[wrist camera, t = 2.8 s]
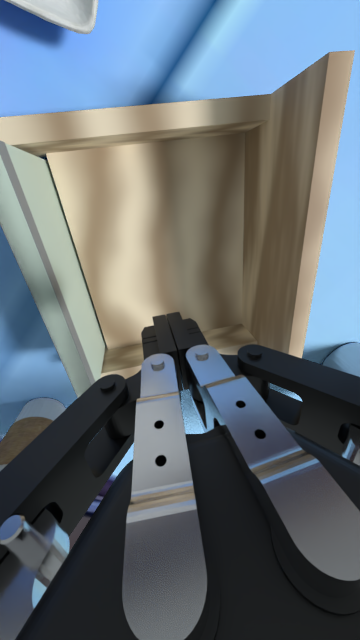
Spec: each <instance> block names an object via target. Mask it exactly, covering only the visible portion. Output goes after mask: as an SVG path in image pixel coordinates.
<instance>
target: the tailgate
mask: <svg viewBox="0 0 360 640" xmlns="http://www.w3.org/2000/svg"><path fill="white" fill-rule="evenodd" d="M0 225H1V227H2V229H3V232H4V234H5V236H6V238H7V241H8V243H9V245H10V247H11V249H12V252H13V254H14V256H15V258H16V261H17V263H18V265H19V267H20V270H21V272H22V274H23V276H24V279H25V281H26V283H27V285H28V288H29V290H30V292H31V294H32V296H33V299H34V301H35V303H36V305H37V308H38V310H39V312H40V314H41V317H42V319H43V321H44V323H45V326H46V328H47V330H48V332H49V334H50V337H51V339H52V341H53V343H54V346H55V348H56V350H57V352H58V355H59V357H60V359H61V361H62V364H63V366H64V368H65V370H66V372H67V375H68V377H69V379H70V381H71V384H72V386H73V388H74V390H75V393H76V395H77V397H78V398H79V397H80V396H81V395H82V394H83V393H84V392H85V391H86V390H87V389H88V388H89V387H90V386H91V385H92V384H93V383H94V382H96V381H97V380H98V379H100V377H101V371H102V364H103V358H104V352H105V345H106V342H105V339H104V336H103V332H102V329H101V326H100V323H99V320H98V317H97V314H96V310H95V307H94V304H93V301H92V298H91V295H90V291H89V288H88V285H87V282H86V279H85V276H84V273H83V269H82V266H81V263H80V260H79V257H78V254H77V251H76V247H75V244H74V241H73V238H72V235H71V232H70V229H69V225H68V222H67V219H66V216H65V213H64V210H63V207H62V203H61V200H60V197H59V194H58V191H57V188H56V184H55V181H54V178H53V175H52V172H51V169H50V166H49V162H48V161H46V160H44V159H42V158H39V157H37V156H35V155H32V154H30V153H28V152H25V151H23V150H20V149H18V148H16V147H13V146H11V145H9V144H6V143H5V142H3V141H0Z"/></svg>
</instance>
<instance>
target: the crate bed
mask: <svg viewBox="0 0 360 640" xmlns="http://www.w3.org/2000/svg"><path fill="white" fill-rule="evenodd" d="M354 52H355V50H353V51H339V52H329V53H328V54H326V55H325V56H323V57H322V58H321V59H319V60H318V61H316V62H315V63H314V64H312V65H311V66H309V67H308V68H307V69H305V70H304V71H303V72H301V73H300V74H298V75H297V76H296V77H294V78H293V79H291V80H290V81H289V82H287V83H286V84H284V85H283V86H282V87H280V88H279V89H277V90H276V91H275V92H273V93H272V94H266V95H255V96H243V97H231V98H220V99H208V100H196V101H185V102H173V103H162V104H150V105H138V106H127V107H115V108H103V109H92V110H80V111H69V112H57V113H45V114H34V115H22V116H10V117H0V141H3V142H5V143H6V144H9V145H11V146H13V147H16V148H18V149H20V150H23V151H25V152H28V153H30V154H32V155H35V156H37V157H46V156H47V159H48V162H49V165H50V168H51V171H52V175H53V178H54V181H55V184H56V187H57V190H58V194H59V197H60V200H61V203H62V206H63V209H64V212H65V216H66V219H67V222H68V225H69V228H70V231H71V234H72V238H73V241H74V244H75V247H76V250H77V253H78V257H79V260H80V263H81V266H82V269H83V272H84V275H85V279H86V282H87V285H88V288H89V291H90V294H91V297H92V301H93V304H94V307H95V310H96V313H97V316H98V319H99V323H100V326H101V329H102V332H103V335H104V338H105V342H106V345H105V352H104V358H103V364H102V371H101V377H100V378H102V377H104V376H106V375H110V374H118V375H121V376H123V377H124V378H125V379H127V378H129V377H131V376H133V375H135V374H136V373H138V372H139V371H140V370H141V366H142V363H143V361H144V356H143V347H142V337H141V332H142V331H143V329H144V327H148V326H153V325H154V323H153V318H152V317H153V316H158V315H164V314H165V315H166V314H168V313H174V312H180V315H181V317H182V319H188V318H191V319H192V320H194V321H196V323H197V324H198V326H199V328H200V330H201V332H202V334H203V335H204V337H205V339H206V341H207V343H208V344H209V346H212V347H214V348H215V349H216V350H217V351H218V353H219V354H225V355H237V353H238V350H239V349H240V348H241V347H243V346H245V345H250V344H256V345H261V346H264V347H267V348H271V349H274V350H277V351H280V352H283V353H286V354H289V355H293V356H296V357H299V358H302V355H303V349H304V343H305V337H306V331H307V326H308V320H309V314H310V308H311V302H312V296H313V291H314V285H315V279H316V273H317V267H318V262H319V256H320V250H321V244H322V238H323V232H324V227H325V221H326V215H327V209H328V203H329V198H330V192H331V186H332V180H333V174H334V168H335V163H336V157H337V151H338V145H339V139H340V133H341V128H342V122H343V116H344V110H345V104H346V99H347V93H348V87H349V81H350V75H351V69H352V64H353V58H354Z"/></svg>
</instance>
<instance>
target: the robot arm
mask: <svg viewBox="0 0 360 640" xmlns="http://www.w3.org/2000/svg"><path fill="white" fill-rule="evenodd" d="M152 318H153V323H154V325H153V326H148V327H144V329H143V331H142V332H141V337H142V347H143V356H144V361H143V363H142V366H141V370H140V371H139V372H138V373H136V374H135V375H133V376H131V377H129V378H127V379H125V378H124V377H123V376H121V375H118V374H110V375H106V376H104V377H102V378H100V379H98V380H97V381H96V382H94V383H93V384H92V385H91V386H90V387H89V388H88V389H87V390H86V391H85V392H84V393H83V394H82V395H81V396H80V397H79V398H77V399H76V400H75V401H74V402H73V403H72V404H71V405H70V406H69V407H68V408H67V409H66V410H65V411H64V412H63V413H62V414H60V415H59V416H58V417H57V418H56V419H55V420H54V421H53V422H52V423H51V424H50V425H49V426H48V427H47V428H46V429H45V430H44V431H42V432H41V433H40V434H39V435H38V436H37V437H36V438H35V439H34V440H33V441H32V442H31V443H30V444H29V445H28V446H27V447H25V448H24V449H23V450H22V451H21V452H20V453H19V454H18V455H17V456H16V457H15V458H14V459H13V460H12V461H11V462H10V463H8V464H7V465H6V466H5V467H4V468H3V469H2V470H1V471H0V640H360V343H349V344H346V345H343V346H341V347H339V348H337V349H336V350H334V351H333V352H332V353H331V354H330V355H329V356H328V357H327V358H326V359H325V361H324V362H323V364H322V365H321V364H318V363H315V362H311V361H308V360H305V359H302V358H299V357H296V356H293V355H289V354H286V353H283V352H280V351H277V350H274V349H271V348H267V347H264V346H261V345H256V344H250V345H245V346H243V347H241V348H240V349H239V350H238V353H237V355H225V354H219V353H218V351H217V350H216V349H215V348H214V347H212V346H209V344H208V343H207V341H206V339H205V337H204V335H203V334H202V332H201V330H200V328H199V326H198V324H197V323H196V321H194V320H192V319H191V318H188V319H182V317H181V315H180V312H174V313H168V314H166V315H165V314H164V315H158V316H153V317H152ZM270 383H272V384H274V385H277V386H279V387H282V388H284V389H287V390H289V391H292V392H294V393H296V394H297V395H299V396H300V398H301V399H302V401H303V402H301V401H299V400H296V399H294V398H291V397H289V396H287V395H284V394H282V393H280V392H277V391H275V390H273V389H270V388H269V387H270ZM182 384H183V387H184V390H186V389H190V392H191V399H192V403H193V406H194V408H195V411H196V413H197V415H198V418H199V420H200V423H201V425H202V427H203V430H204V432H205V433H203V434H186V433H185V427H184V421H183V415H182V408H181V393H180V391H182V390H183V388H182ZM103 426H104V427H103ZM102 427H103V428H102ZM97 433H98V434H97ZM92 439H93V440H92ZM91 440H92V441H91ZM133 442H134V454H133V460H132V461H130V462H129V463H128V464H127V465H126V466H125V467H124V468H123V469H122V471H121V472H120V473H119V475H118V476H117V477H116V479H115V480H114V482H113V483H112V485H111V487H110V488H109V490H108V491H107V493H106V495H105V496H104V498H103V499H102V501H101V503H100V504H99V506H98V507H97V509H96V511H95V512H94V514H93V515H92V517H91V519H90V520H89V522H88V524H87V525H86V527H85V528H84V530H83V531H82V533H81V535H80V536H79V538H78V539H77V541H76V543H75V544H74V546H73V547H72V549H71V551H70V552H69V536H70V534H71V533H72V531H73V530H74V528H75V527H76V525H77V524H78V523H79V521H80V520H81V518H82V517H83V515H84V514H85V512H86V511H87V510H88V508H89V507H90V505H91V504H92V502H93V501H94V499H95V498H96V496H97V495H98V494H99V492H100V491H101V489H102V488H103V486H104V485H105V483H106V482H107V480H108V479H109V477H110V476H111V475H112V473H113V472H114V470H115V469H116V467H117V466H118V464H119V463H120V461H121V460H122V458H123V457H124V456H125V454H126V453H127V451H128V450H129V448H130V447H131V445H132V444H133ZM68 553H69V554H68Z"/></svg>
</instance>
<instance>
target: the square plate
mask: <svg viewBox="0 0 360 640" xmlns="http://www.w3.org/2000/svg"><path fill="white" fill-rule="evenodd" d="M5 1H7V2H9V3H11V4H14V5H16V6H17V7H19V8H21V9H23V10H25V11H28V12H30V13H32V14H34V15H36V16H38V17H40V18H42V19H44V20H46V21H48V22H51V23H53V24H56V25H58V26H61V27H63V28H66V29H68V30H71V31H74V32H76V33H81V34H89V33H91V31H92V30H93V28H94V26H95V21H96V14H97V7H98V0H5Z"/></svg>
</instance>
